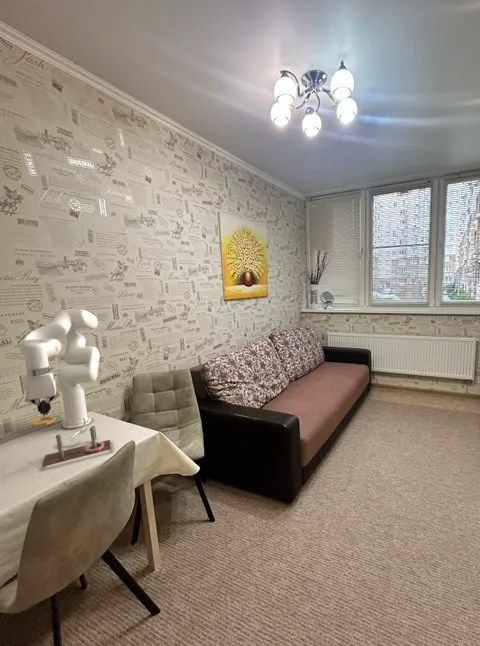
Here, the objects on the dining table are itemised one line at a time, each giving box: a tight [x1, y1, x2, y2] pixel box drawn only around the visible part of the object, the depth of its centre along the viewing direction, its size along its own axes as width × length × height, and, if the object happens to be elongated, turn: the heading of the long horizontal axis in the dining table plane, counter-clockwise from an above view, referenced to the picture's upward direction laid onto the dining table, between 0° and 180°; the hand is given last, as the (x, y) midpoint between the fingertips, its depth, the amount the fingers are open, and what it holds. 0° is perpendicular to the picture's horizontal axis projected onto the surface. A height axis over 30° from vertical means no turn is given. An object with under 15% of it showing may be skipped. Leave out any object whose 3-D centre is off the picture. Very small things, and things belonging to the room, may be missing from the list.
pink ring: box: [85, 425, 104, 453], centre depth 138 cm, size 12×7×7 cm, turn 32°
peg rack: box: [41, 426, 111, 468], centre depth 133 cm, size 10×24×12 cm, turn 122°
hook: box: [62, 417, 87, 441], centre depth 149 cm, size 7×9×20 cm
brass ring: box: [31, 399, 55, 428], centre depth 128 cm, size 12×7×7 cm, turn 33°
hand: (44, 412), depth 133 cm, fingers closed on brass ring, 1 cm apart
